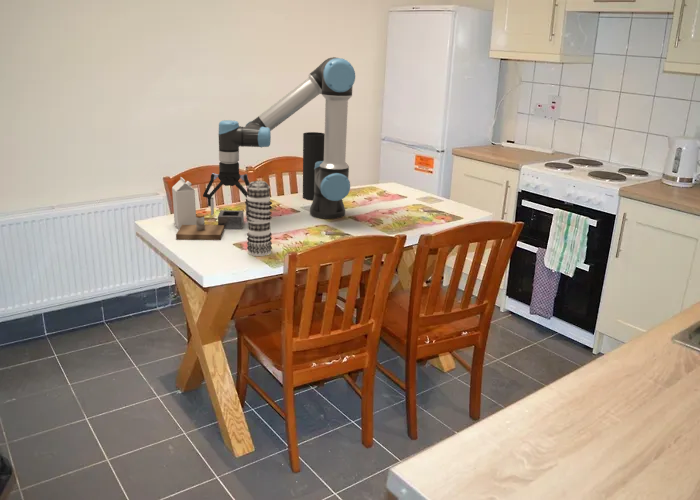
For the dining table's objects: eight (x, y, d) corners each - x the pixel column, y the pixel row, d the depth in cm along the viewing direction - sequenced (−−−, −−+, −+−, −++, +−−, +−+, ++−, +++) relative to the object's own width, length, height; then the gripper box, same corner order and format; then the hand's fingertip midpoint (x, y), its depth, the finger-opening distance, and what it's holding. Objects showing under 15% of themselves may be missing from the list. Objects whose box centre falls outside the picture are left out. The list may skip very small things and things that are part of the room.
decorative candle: (241, 254, 211) (239, 183, 203) (254, 246, 219) (253, 178, 211) (264, 258, 208) (263, 186, 200) (277, 250, 216) (276, 181, 208)
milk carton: (178, 229, 235) (175, 181, 229) (174, 224, 241) (171, 177, 235) (196, 227, 238) (194, 179, 232) (192, 222, 244) (189, 175, 238)
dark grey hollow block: (243, 222, 246) (243, 210, 244) (241, 229, 238) (241, 216, 236) (221, 222, 245) (220, 210, 244) (218, 228, 237) (217, 216, 235)
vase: (302, 194, 292) (302, 132, 282) (323, 194, 293) (324, 132, 283) (303, 200, 282) (303, 135, 272) (324, 200, 283) (326, 135, 273)
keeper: (224, 230, 236) (223, 210, 233) (220, 240, 224) (219, 219, 222) (182, 229, 234) (181, 209, 232) (176, 239, 223) (174, 218, 221)
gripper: (262, 161, 238) (262, 213, 245) (197, 158, 235) (199, 211, 242) (261, 164, 231) (261, 218, 237) (194, 162, 228) (196, 216, 235)
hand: (229, 214), depth 240 cm, fingers open, 13 cm apart
